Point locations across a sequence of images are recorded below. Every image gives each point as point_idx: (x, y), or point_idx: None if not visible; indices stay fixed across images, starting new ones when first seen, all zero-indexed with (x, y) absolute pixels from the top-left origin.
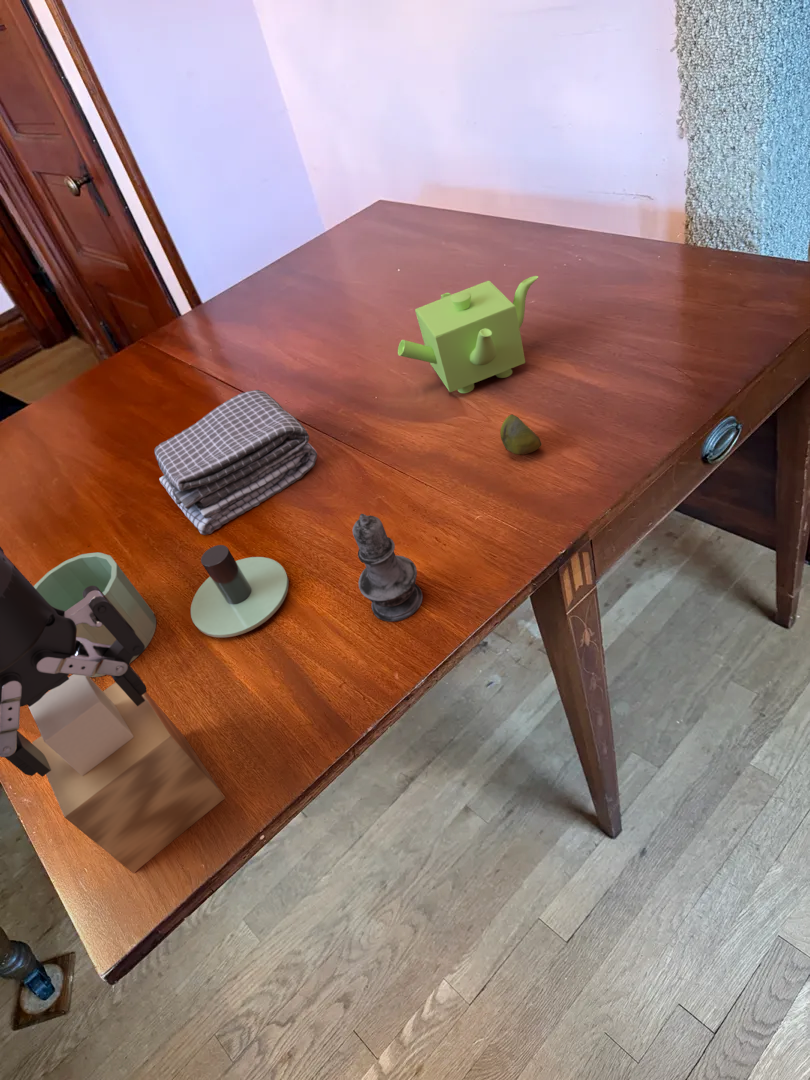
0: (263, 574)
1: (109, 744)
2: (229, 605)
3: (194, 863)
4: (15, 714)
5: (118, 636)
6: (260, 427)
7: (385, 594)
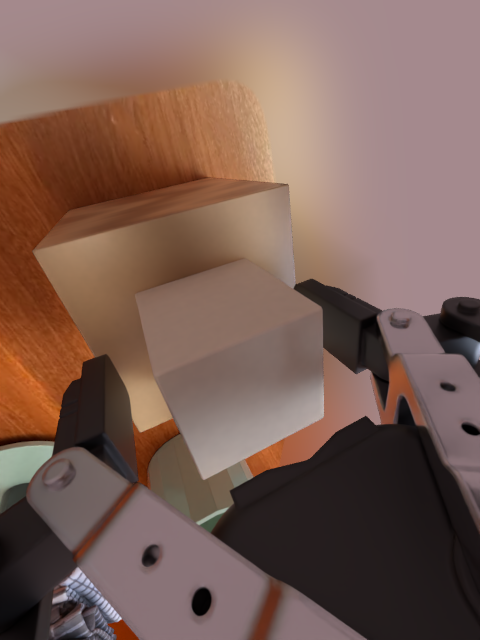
0: None
1: (182, 288)
2: None
3: (126, 133)
4: (433, 400)
5: None
6: None
7: None
